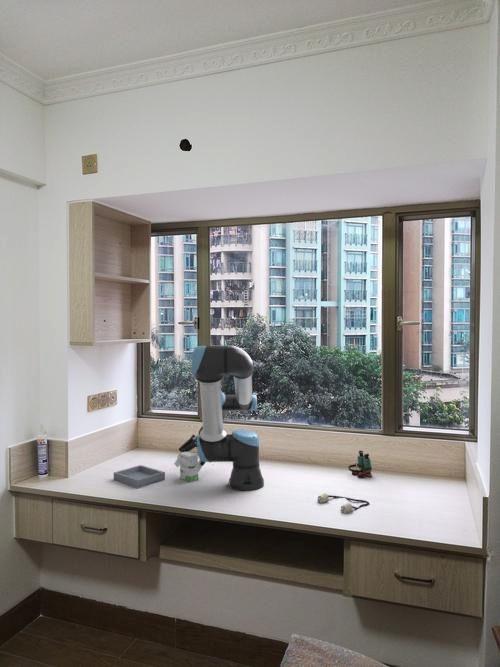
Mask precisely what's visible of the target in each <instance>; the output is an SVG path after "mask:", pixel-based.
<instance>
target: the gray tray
mask: <svg viewBox="0 0 500 667" xmlns="http://www.w3.org/2000/svg"><path fill="white" fill-rule="evenodd" d="M113 481H116V482H117V483H121V484H124V485H127V486H129V487H132V488H136V489H140V488H143V487H146V486H150V485H153V484H156V483H159V482H162V481H166V472H165V471H162V470H159V469H155V468H151V467H148V466H146V465H141V464H140V465H136V466H132V467H128V468H124V469H121V470H118V471H114V472H113Z"/></svg>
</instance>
